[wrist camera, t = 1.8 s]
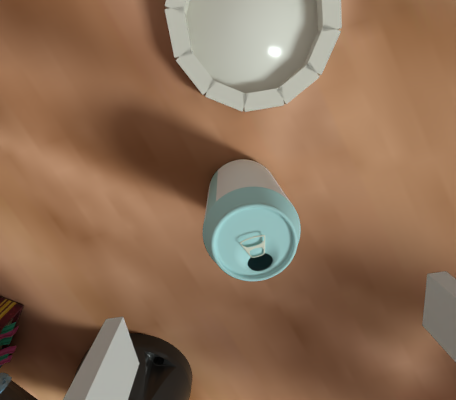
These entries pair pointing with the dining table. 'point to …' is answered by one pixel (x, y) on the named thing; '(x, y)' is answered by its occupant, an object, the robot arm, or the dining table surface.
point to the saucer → (253, 47)
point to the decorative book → (8, 327)
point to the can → (249, 222)
